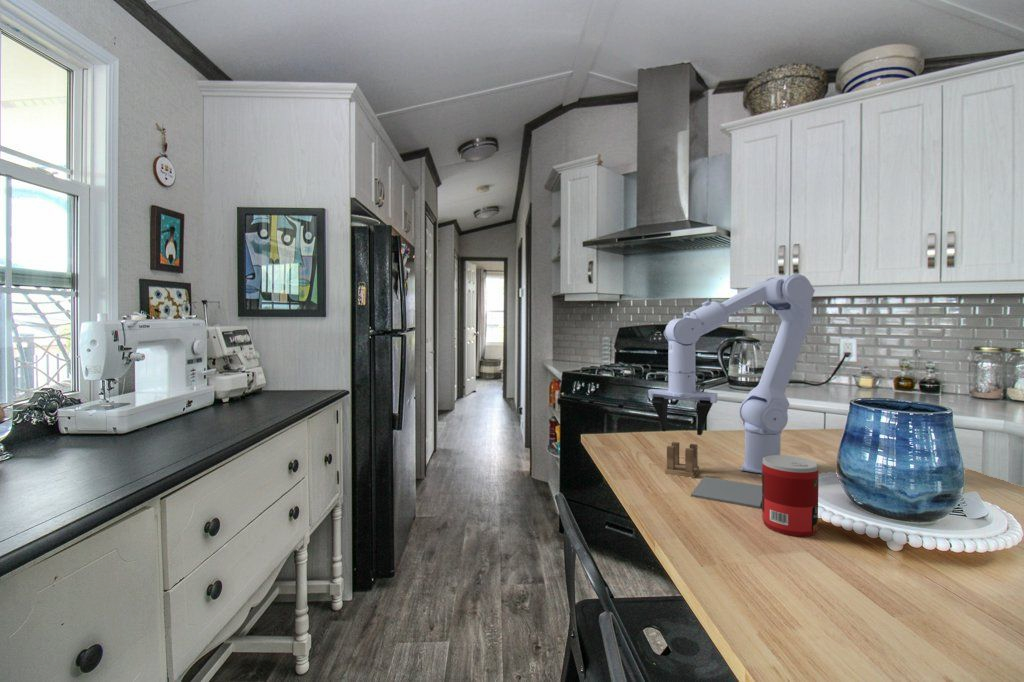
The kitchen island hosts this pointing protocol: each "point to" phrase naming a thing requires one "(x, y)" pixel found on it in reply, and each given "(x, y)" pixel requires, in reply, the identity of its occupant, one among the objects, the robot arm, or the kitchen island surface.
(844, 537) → the kitchen island surface
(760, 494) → the mat
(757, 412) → the robot arm
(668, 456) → the stool
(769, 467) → the canned food
